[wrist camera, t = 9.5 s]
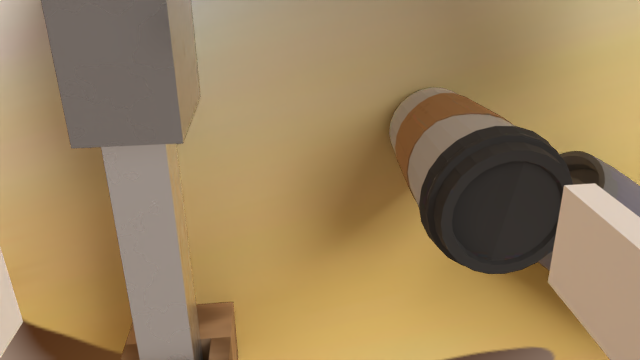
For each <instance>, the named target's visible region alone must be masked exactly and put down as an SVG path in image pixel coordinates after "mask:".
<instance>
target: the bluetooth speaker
mask: <svg viewBox="0 0 640 360" xmlns="http://www.w3.org/2000/svg"><path fill="white" fill-rule="evenodd" d="M559 155H560V156H561V157H562V159H563V160H564V161H565V163H566V164H567V167H568V169H569V172H570V175H571V178H572V182H573V185H577V184H593V183H595V184H597V185H598V186H599V187H600V188H602V189H603V190H604V191H606V192H607V193H608V194H610V195H611V196H612V197H614V198H615V199H616V200H618V201H619V202H620V203H622V204H623V205H624V206H625V207H627V208H628V209H629V210H631V211H632V212H633V213H635V214H636V215H637V216H639V217H640V186H639V185H638V184H636V183H635V182H633V181H632V180H631V179H629V178H628V177H626V176H625V175H624V174H622V173H621V172H619V171H618V170H616V169H615V168H613V167H612V166H610V165H608V164H606V163H604V162H603V161H601V160H599V159H598V158H596V157H594V156H592V155H590V154H588V153H585V152H581V151H571V152H566V153H562V154H559ZM552 254H553V251H552V252H550V253H549V254H548V255H546V256H545V257H544V258H542V259H541V260H540V261H538V262H539V263H540V264H541V265H543V266H544V267H545V268H546V269H548V270H549V271H550V266H551V260H552Z"/></svg>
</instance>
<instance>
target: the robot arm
mask: <svg viewBox="0 0 640 360" xmlns="http://www.w3.org/2000/svg"><path fill="white" fill-rule="evenodd" d="M548 283H549V284H550V286H551V287H552V288H553V289H554V291H555V292H556V293H557V294H558V296H559V297H560V298H561V299H562V301H563V302H564V303H565V304H566V306H567V307H568V308H569V309H570V311H571V312H572V313H573V314H574V315H575V317H576V318H577V319H578V320H579V322H580V323H581V324H582V325H583V327H584V328H585V329H586V330H587V332H588V333H589V334H590V335H591V337H592V338H593V339H594V340H595V342H596V343H597V344H598V345H599V346H600V348H601V349H602V350H603V351H604V353H605V354H606V355H607V356H608V358H609V359H610V360H640V217H639V216H637V215H636V214H635V213H633V212H632V211H631V210H629V209H628V208H627V207H625V206H624V205H623V204H622V203H620V202H619V201H618V200H616V199H615V198H614V197H612V196H611V195H610V194H608V193H607V192H606V191H604V190H603V189H602V188H600V187H599V186H598V185H597V184H595V183H593V184H577V185H564V189H563V195H562V201H561V207H560V213H559V218H558V224H557V230H556V236H555V242H554V248H553V254H552V260H551V266H550V272H549V277H548ZM22 323H23V320H22V316H21V313H20V310H19V307H18V303H17V300H16V297H15V293H14V290H13V287H12V284H11V280H10V277H9V274H8V271H7V267H6V264H5V261H4V257H3V254H2V251H1V248H0V358H1V356H2V354H3V353H4V351H5V350H6V348H7V347H8V345H9V343H10V341H11V340H12V339H13V337H14V336H15V334H16V332H17V331H18V329H19V327H20V326H21V324H22Z"/></svg>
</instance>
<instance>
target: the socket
mask: <svg viewBox="0 0 640 360" xmlns="http://www.w3.org/2000/svg"><path fill="white" fill-rule="evenodd" d="M196 307H197V315H198V323H199V331H200V339H201V347H202V355H203V360H238V350H237V339H236V328H235V317H234V306H233V302H227V303H212V304H198V305H196ZM120 360H140V358H139V353H138V347H137V342H136V336H135V331H134V325H133V323H132V326H131V329H130V332H129V335H128V338H127V341H126V344H125V347H124V350H123V353H122V356H121V359H120Z"/></svg>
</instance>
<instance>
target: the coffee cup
mask: <svg viewBox="0 0 640 360" xmlns="http://www.w3.org/2000/svg"><path fill="white" fill-rule="evenodd" d="M389 135H390V141H391V145H392V147H393V149H394V151H395V154H396V157H397V161H398V163H399V166H400V168H401V170H402V173H403V175H404V177H405V180H406V182H407V184H408V187H409V189H410V191H411V193H412V195H413V197H414V199H415V200H416V202H417V204H418V206H419V209H420V215H421V222H422V224H423V226H424V228H425V230H426V232H427V234H428V236H429V238H430V239H431V240H432V241H433V242H434V243H435V244H436V246H437V247H438V248H439V249H440V250H441V251H442V252H443V253H444V254H445V255H446V256H447V257H448V258H450V259H452V260H454V261H455V262H457V263H459V264H461V265H463V266H466V267H468V268H470V269H472V270H474V271H478V272H483V273H487V274H505V273H510V272H514V271H518V270H522V269H524V268H526V267H528V266H530V265H532V264H535V263H537V262H538V261H540V260H541V259H542V258H544V257H545V256H546V255H548V254H549V253H550V252H552V251H553V248H554V242H555V236H556V230H557V224H558V218H559V213H560V207H561V201H562V195H563V189H564V185H573V182H572V178H571V175H570V172H569V169H568V167H567V164H566V163H565V161H564V160H563V159H562V157H561V156H560V155H559V153H558V152H557V151H556V150H555V149H554V148H553V147H552V146H551V145H550V144H549V142H548V141H546V140H545V139H543V138H542V137H541V136H539V135H538V134H536V133H535V132H533V131H530V130H526V129H523V128H520V127H516V126H514V125H513V124H511V123H510V122H509V121H507V120H506V119H505V118H503V117H501V116H500V115H498V114H496V113H494V112H492V111H490V110H488V109H487V108H485V107H483V106H481V105H479V104H477V103H476V102H474V101H472V100H470V99H468V98H466V97H464V96H461V95H458V94H457V93H455V92H453V91H450V90H447V89H444V88H427V89H422V90H419V91H417V92H415V93H413V94H411V95H409V96H408V97H407V98H406V99H405V100H404V101H403V102H401V103H400V105H399V106H398V108H397V109H396V111H395V112H394V114H393V117H392V120H391V122H390V131H389Z"/></svg>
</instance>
